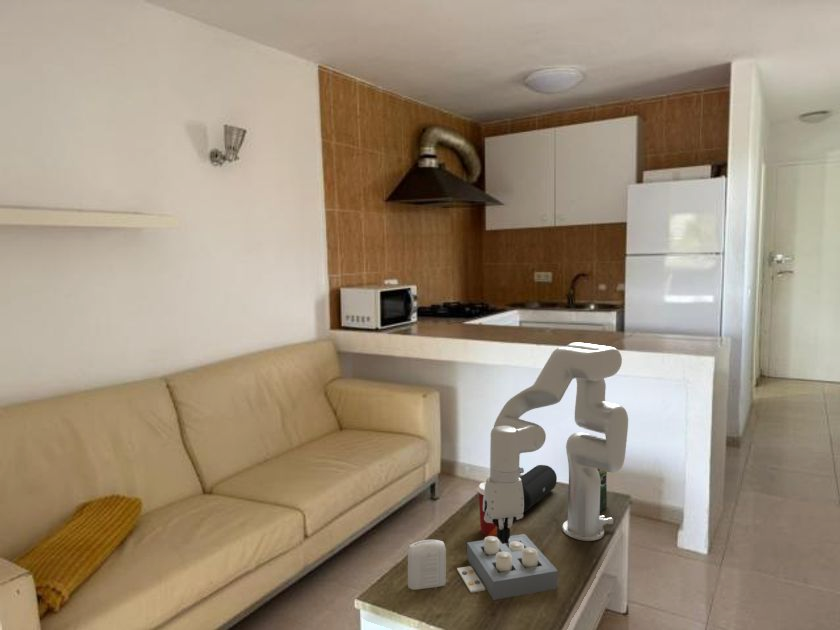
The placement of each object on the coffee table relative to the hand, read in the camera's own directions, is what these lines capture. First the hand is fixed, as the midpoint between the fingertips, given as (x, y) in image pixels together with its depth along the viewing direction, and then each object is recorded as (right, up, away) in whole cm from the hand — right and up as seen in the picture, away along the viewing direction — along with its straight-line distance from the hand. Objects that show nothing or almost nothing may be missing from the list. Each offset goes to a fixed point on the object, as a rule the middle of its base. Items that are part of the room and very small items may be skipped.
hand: (503, 540), depth 150 cm
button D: (0, -9, +1) cm, 9 cm away
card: (-8, -12, +4) cm, 15 cm away
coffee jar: (+37, -7, +46) cm, 59 cm away
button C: (-2, -8, +9) cm, 13 cm away
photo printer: (-20, -13, +2) cm, 24 cm away
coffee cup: (0, -9, +30) cm, 31 cm away
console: (+3, -12, +7) cm, 14 cm away
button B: (+8, -9, +3) cm, 12 cm away
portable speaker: (+17, -6, +51) cm, 54 cm away
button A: (+5, -10, +12) cm, 17 cm away
